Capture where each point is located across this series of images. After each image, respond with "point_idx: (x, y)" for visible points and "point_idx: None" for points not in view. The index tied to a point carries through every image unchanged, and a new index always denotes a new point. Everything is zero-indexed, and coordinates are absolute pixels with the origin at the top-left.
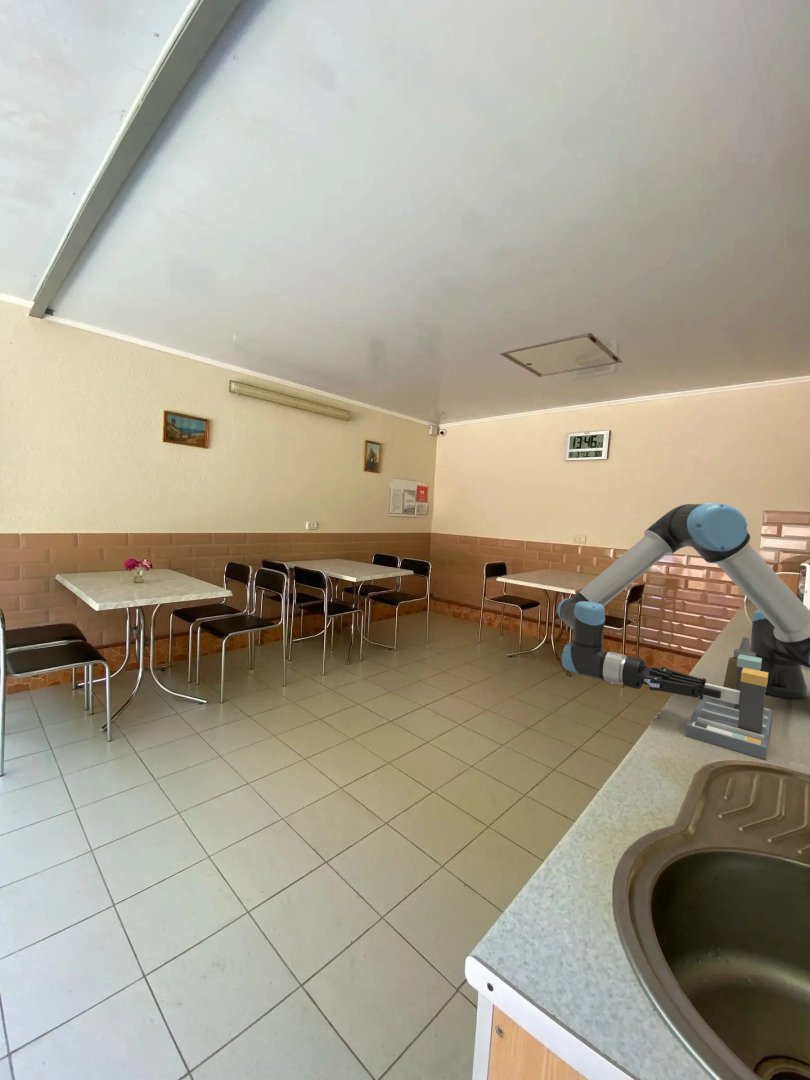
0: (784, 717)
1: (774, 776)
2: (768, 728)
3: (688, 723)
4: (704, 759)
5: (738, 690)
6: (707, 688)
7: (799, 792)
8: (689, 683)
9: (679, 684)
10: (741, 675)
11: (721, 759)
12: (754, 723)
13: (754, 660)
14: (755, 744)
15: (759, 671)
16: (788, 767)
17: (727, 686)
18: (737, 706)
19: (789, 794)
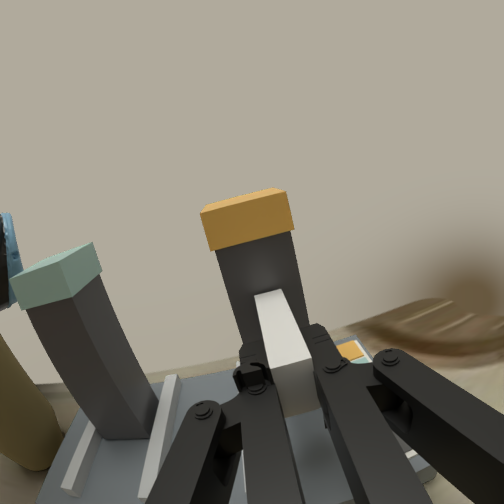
0: None
1: (408, 326)
2: (221, 372)
3: (423, 465)
4: (495, 375)
5: (255, 298)
6: (321, 357)
7: (416, 301)
8: (374, 404)
9: (474, 399)
10: (288, 204)
11: (456, 372)
12: None
13: (74, 249)
14: (361, 346)
15: (215, 204)
16: (345, 337)
17: (15, 435)
18: (143, 420)
19: (437, 300)
